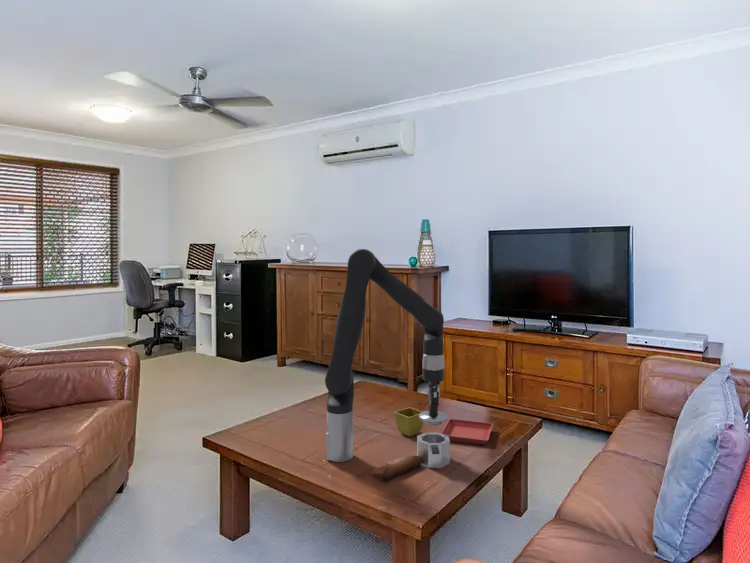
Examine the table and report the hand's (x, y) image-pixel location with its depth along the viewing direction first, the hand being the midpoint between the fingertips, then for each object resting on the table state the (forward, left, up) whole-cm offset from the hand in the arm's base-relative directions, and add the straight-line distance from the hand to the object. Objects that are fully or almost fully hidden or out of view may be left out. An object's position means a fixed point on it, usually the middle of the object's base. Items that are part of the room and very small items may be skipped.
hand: (433, 414), depth 175 cm
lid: (0, 0, -3) cm, 3 cm away
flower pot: (-7, +25, -17) cm, 31 cm away
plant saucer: (+16, +23, -17) cm, 33 cm away
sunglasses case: (-14, -8, -17) cm, 23 cm away
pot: (0, 0, -17) cm, 17 cm away
